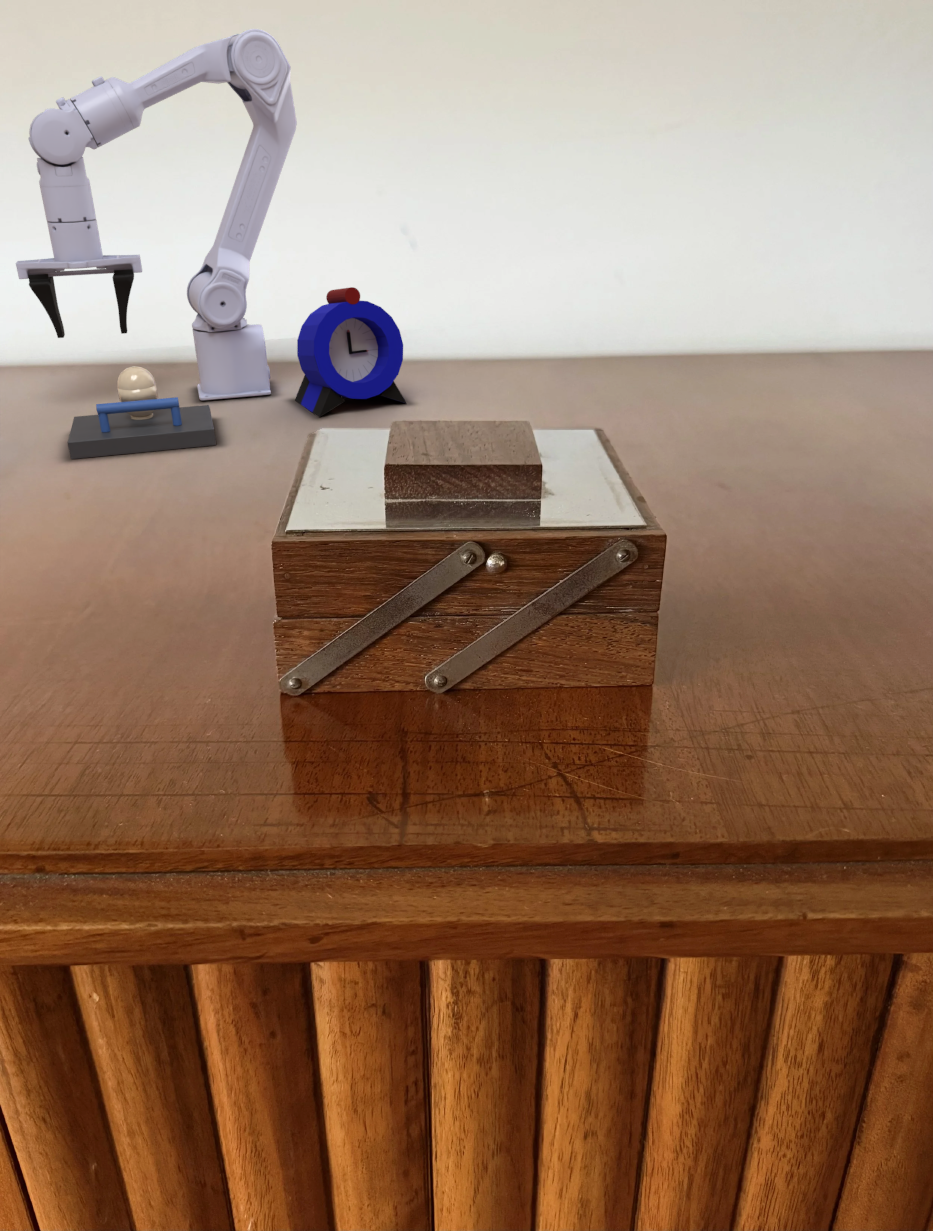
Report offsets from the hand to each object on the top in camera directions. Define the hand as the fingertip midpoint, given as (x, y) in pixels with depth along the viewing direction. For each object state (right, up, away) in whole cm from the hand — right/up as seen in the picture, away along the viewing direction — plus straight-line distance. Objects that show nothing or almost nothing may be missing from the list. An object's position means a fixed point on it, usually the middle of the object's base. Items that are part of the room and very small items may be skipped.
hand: (93, 334), depth 126 cm
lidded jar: (+9, -12, -8) cm, 17 cm away
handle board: (+10, -15, -9) cm, 20 cm away
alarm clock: (+32, -8, +5) cm, 33 cm away
